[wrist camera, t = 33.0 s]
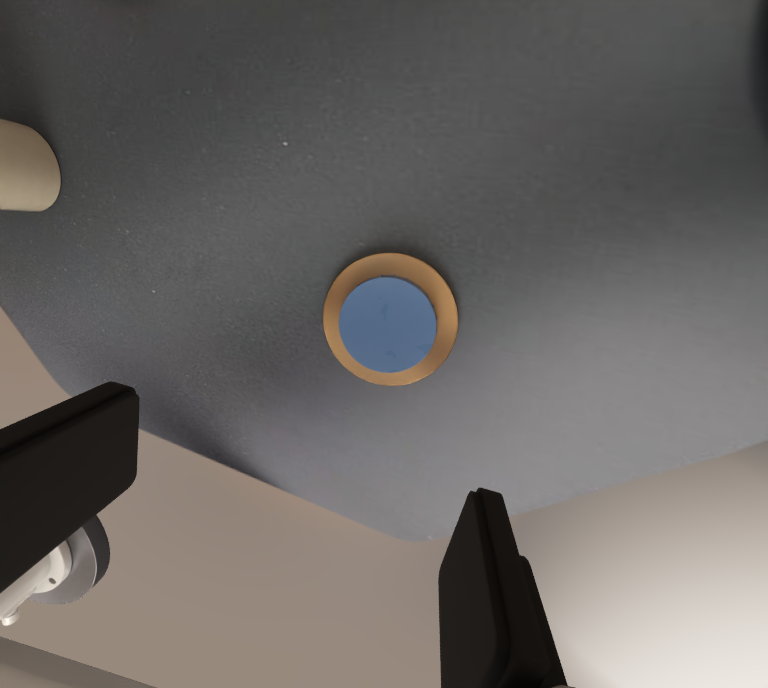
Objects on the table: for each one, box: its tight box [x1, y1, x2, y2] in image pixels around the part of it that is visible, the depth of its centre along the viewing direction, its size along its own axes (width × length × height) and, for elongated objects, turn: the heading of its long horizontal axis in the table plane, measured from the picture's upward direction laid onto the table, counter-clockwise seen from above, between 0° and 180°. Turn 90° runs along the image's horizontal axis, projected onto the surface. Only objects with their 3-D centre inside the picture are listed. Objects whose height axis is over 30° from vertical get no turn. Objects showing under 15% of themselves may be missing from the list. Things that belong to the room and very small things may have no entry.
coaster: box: [323, 252, 458, 386], centre depth 27 cm, size 10×10×1 cm
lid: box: [339, 274, 437, 373], centre depth 26 cm, size 7×7×1 cm
